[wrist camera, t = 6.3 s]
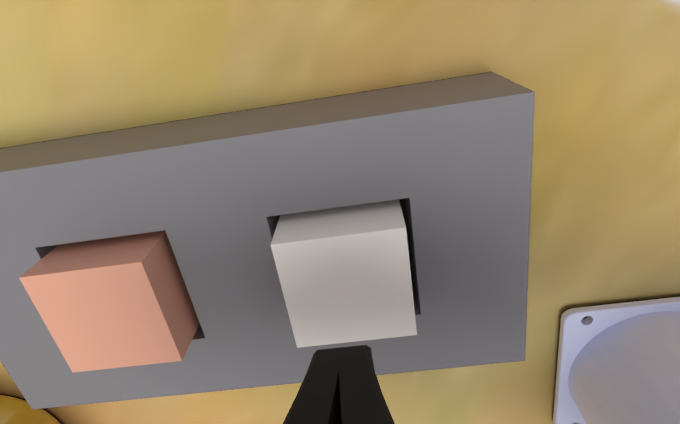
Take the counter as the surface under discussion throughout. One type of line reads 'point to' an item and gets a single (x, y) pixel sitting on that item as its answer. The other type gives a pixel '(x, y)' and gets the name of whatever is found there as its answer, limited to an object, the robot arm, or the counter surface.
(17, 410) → the plant pot
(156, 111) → the counter surface
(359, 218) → the white key
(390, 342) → the key panel
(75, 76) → the counter surface
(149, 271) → the terracotta key
